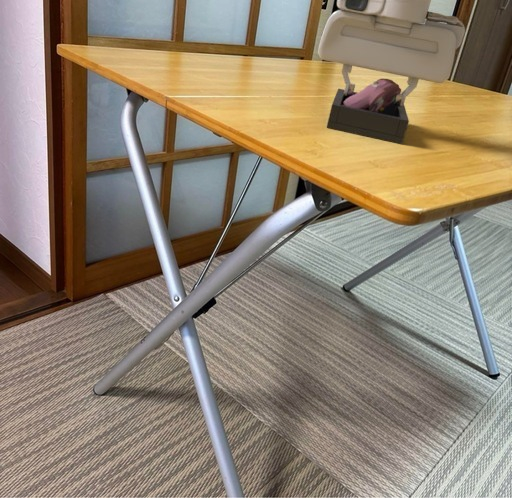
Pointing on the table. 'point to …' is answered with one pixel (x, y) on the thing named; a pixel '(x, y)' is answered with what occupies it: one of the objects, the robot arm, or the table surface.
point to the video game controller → (374, 96)
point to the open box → (368, 120)
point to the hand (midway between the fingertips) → (372, 100)
